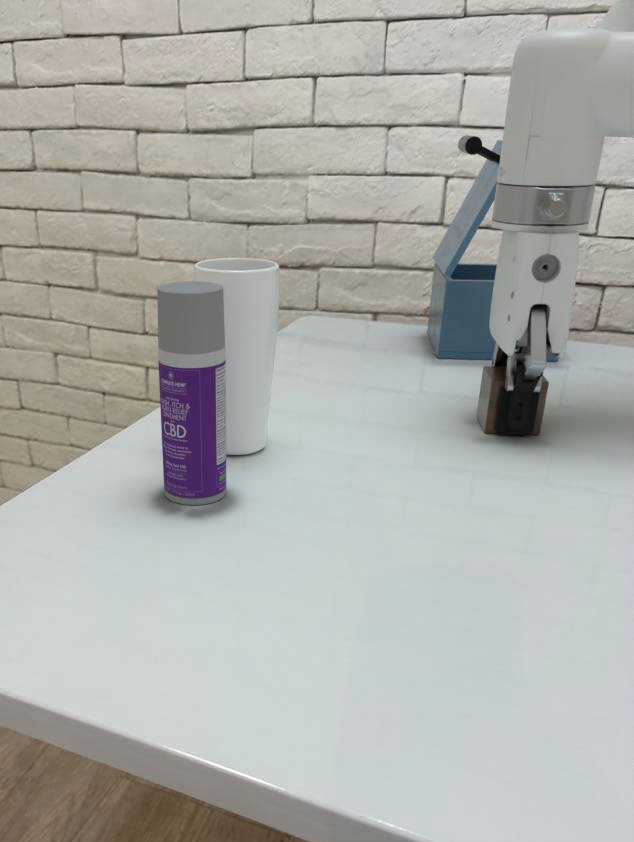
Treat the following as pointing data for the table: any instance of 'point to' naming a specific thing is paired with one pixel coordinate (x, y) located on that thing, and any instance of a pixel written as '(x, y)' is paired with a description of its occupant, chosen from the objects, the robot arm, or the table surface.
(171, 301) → the container
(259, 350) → the drinking glass
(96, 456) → the table surface
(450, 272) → the lid
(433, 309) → the blue storage box
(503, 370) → the block
